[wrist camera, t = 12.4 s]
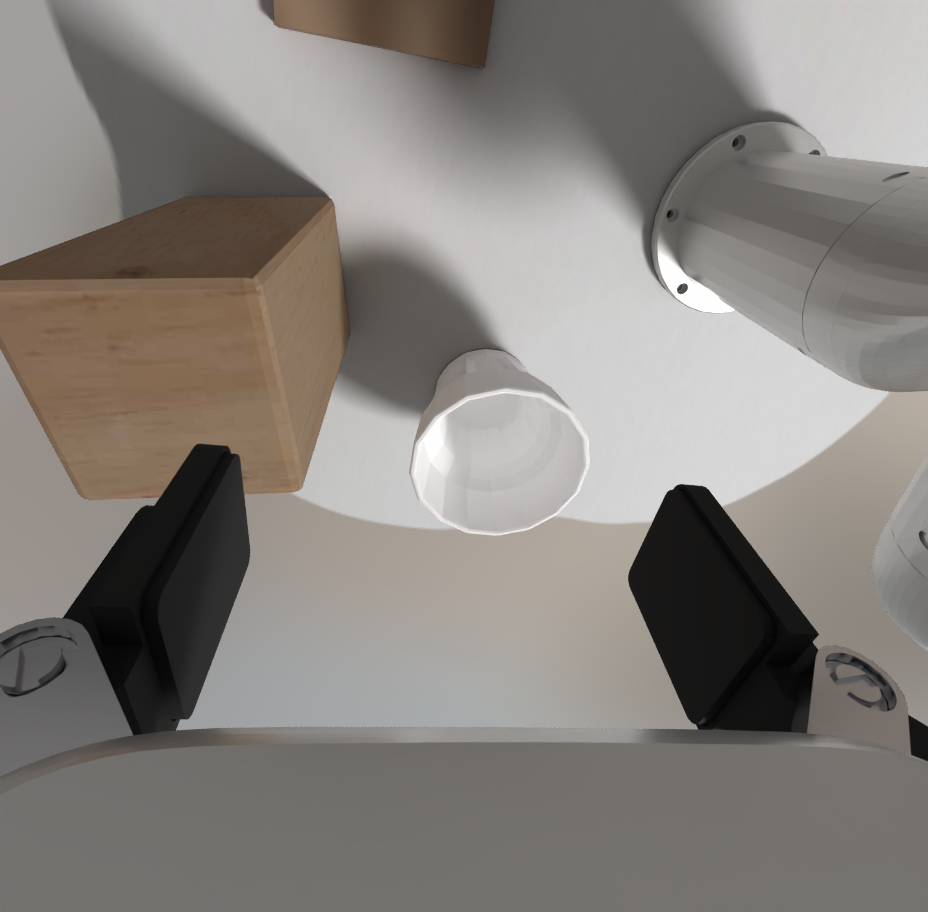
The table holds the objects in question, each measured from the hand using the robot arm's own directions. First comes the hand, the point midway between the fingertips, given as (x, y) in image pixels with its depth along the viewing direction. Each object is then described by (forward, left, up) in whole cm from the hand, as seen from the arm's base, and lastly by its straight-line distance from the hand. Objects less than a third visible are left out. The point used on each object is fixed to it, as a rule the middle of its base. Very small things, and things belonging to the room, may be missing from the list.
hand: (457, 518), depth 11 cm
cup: (-6, +12, -31) cm, 33 cm away
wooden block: (+11, +4, -31) cm, 33 cm away
